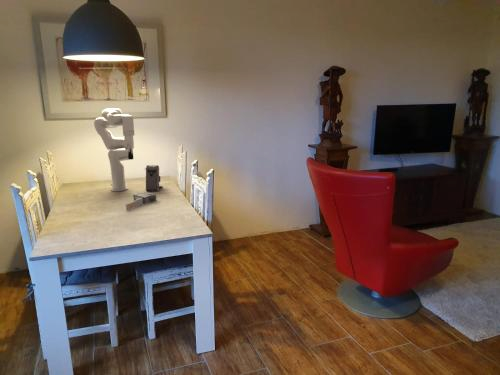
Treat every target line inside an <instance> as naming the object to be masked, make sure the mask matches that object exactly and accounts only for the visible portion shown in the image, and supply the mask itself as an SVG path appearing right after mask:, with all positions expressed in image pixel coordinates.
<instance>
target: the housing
mask: <svg viewBox="0 0 500 375" xmlns="http://www.w3.org/2000/svg"><path fill="white" fill-rule="evenodd" d="M132 196H133V201H135V200H137V199H140V198H141V197H143V200H144V204H143V205H147V204H151V203H153V202H156V201H157V194H156V193H152V192H147V191H142V192H138V193H135V194H133V195H132Z"/></svg>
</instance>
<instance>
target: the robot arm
mask: <svg viewBox="0 0 500 375" xmlns="http://www.w3.org/2000/svg"><path fill="white" fill-rule="evenodd" d="M93 125H94V129H95V131H96V132H97V134H98V135H99V136H100V138H101V140H102V142H103V143H104V146H105V148H106V149H107V150H108V151H107V152H108V153H107V157H108V161H109V164H110V172H111V173H110V174H111V183H110V186H111V188H110V191H112V192H123V191H127V190H128V189H129V187H128V186H126V176H125V167H124V164H123V163H121V162H122V161H129V160H134V152H133V149H134V148H135V144H134V141H135V140H134V136H135V126H134V117H133V115H129V114H123V112H122V110H121V109H120V108H115V107H114V108H105V109H103V110H102V111H101V117H97V118H95V119H94V121H93ZM121 126H122V134H123V135H122V136H123V137H115V136H114V135H113V132H111V131H110V130H108V129H114V128H117V127H121Z"/></svg>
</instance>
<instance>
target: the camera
mask: <svg viewBox="0 0 500 375" xmlns="http://www.w3.org/2000/svg"><path fill="white" fill-rule="evenodd" d="M160 183H161V176H160V166H159V165H158V164H157V165H155V164H154V165H153V164H151V165H146V167H145V192H149V193H152V192H154V193H155V192H157V193H158V192H159V190H160V188H163V186H162V185H161V186H160Z"/></svg>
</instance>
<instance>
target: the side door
mask: <svg viewBox="0 0 500 375" xmlns="http://www.w3.org/2000/svg"><path fill="white" fill-rule="evenodd" d="M141 205H145V204H144V200H143V197H141V198H140V199H137V200H135V201H134V200H133V201H131V202H128V203H126V204H125V211H126V212H128V211H130V210H132V209H135V208H137V207H139V206H141Z"/></svg>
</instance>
